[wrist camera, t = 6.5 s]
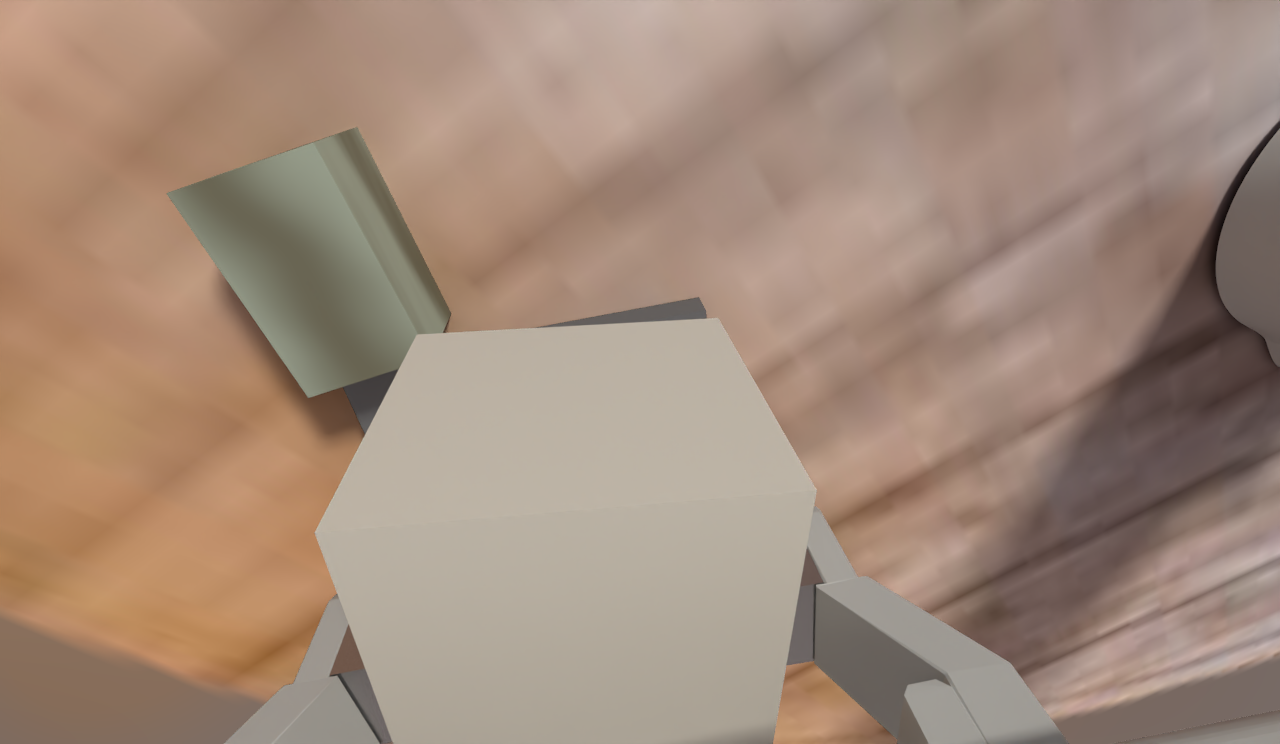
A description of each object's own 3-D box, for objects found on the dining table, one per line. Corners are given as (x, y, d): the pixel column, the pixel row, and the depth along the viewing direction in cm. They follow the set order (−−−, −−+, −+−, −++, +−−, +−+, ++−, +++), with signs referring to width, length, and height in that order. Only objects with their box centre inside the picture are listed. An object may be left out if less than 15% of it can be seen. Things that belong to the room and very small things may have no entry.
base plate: (698, 297, 27) (705, 310, 25) (721, 496, 33) (727, 515, 31) (350, 362, 26) (338, 378, 25) (435, 551, 32) (430, 573, 31)
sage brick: (358, 126, 22) (313, 142, 18) (452, 312, 26) (431, 358, 22) (236, 168, 22) (166, 193, 19) (347, 346, 26) (308, 398, 22)
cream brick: (718, 318, 10) (815, 490, 6) (699, 629, 14) (753, 857, 10) (416, 334, 10) (314, 533, 6) (484, 651, 13) (451, 900, 10)
